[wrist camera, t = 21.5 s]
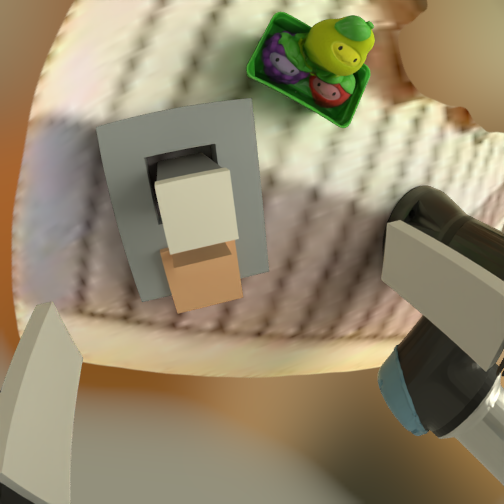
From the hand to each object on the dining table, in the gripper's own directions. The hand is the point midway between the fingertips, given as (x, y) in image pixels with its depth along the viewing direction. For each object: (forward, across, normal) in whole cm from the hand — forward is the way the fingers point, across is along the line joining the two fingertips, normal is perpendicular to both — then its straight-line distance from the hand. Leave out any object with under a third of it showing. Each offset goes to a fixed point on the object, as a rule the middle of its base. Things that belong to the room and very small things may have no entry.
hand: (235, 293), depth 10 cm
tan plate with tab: (+18, 0, +9) cm, 20 cm away
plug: (+21, 0, 0) cm, 21 cm away
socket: (+21, 0, +2) cm, 21 cm away
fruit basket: (+21, -13, -10) cm, 27 cm away
